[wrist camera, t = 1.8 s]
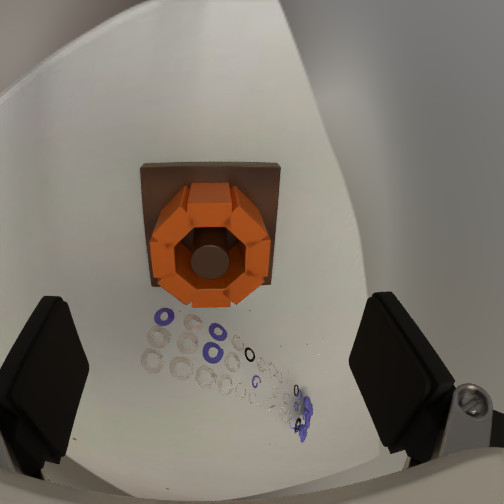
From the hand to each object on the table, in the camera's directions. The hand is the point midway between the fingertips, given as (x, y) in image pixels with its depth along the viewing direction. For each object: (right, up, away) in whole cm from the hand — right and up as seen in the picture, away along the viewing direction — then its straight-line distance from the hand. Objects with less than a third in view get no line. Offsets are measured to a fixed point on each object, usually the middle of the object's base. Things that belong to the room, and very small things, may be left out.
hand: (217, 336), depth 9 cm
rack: (-2, +5, +13) cm, 14 cm away
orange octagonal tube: (-2, +4, +12) cm, 13 cm away
